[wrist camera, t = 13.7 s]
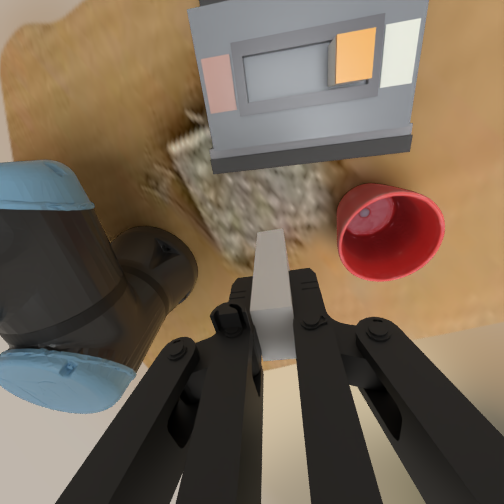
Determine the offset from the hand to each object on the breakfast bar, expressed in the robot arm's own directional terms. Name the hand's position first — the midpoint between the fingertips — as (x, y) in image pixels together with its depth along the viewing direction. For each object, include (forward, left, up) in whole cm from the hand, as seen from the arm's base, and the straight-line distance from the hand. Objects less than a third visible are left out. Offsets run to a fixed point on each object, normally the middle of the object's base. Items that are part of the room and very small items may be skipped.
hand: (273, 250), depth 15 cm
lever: (+7, +10, -19) cm, 23 cm away
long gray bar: (+4, +2, -22) cm, 22 cm away
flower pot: (+12, -7, -22) cm, 26 cm away
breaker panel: (+4, +10, -22) cm, 25 cm away
